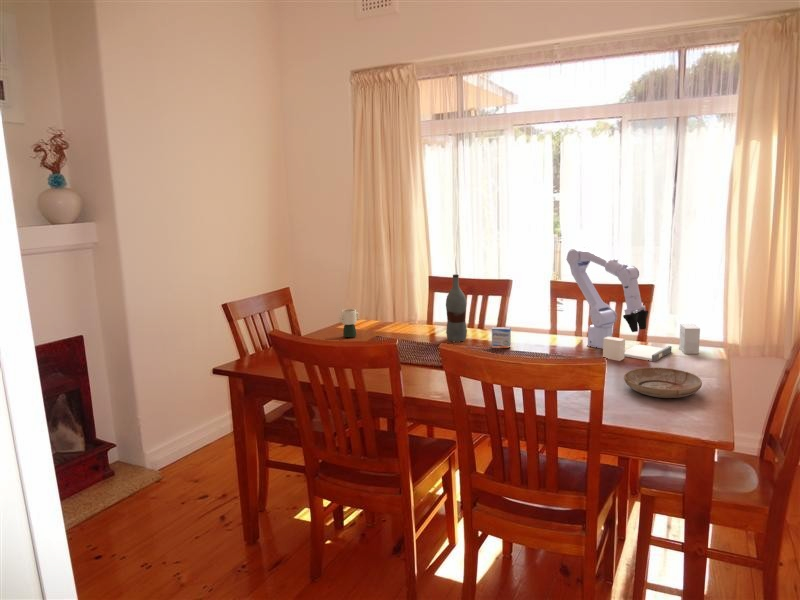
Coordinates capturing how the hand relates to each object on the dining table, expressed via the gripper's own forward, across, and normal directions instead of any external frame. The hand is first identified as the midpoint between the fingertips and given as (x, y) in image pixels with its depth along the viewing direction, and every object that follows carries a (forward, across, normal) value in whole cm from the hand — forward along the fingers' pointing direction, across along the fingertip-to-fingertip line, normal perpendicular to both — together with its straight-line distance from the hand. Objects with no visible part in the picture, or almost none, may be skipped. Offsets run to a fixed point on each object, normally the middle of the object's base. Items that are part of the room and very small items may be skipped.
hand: (639, 330), depth 238 cm
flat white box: (+10, +4, +1) cm, 11 cm away
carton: (+9, -9, +8) cm, 15 cm away
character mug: (-16, -51, +116) cm, 128 cm away
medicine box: (-1, -23, +51) cm, 56 cm away
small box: (+12, +18, -11) cm, 24 cm away
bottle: (-7, -25, +73) cm, 78 cm away
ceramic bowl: (+18, -36, -20) cm, 45 cm away
